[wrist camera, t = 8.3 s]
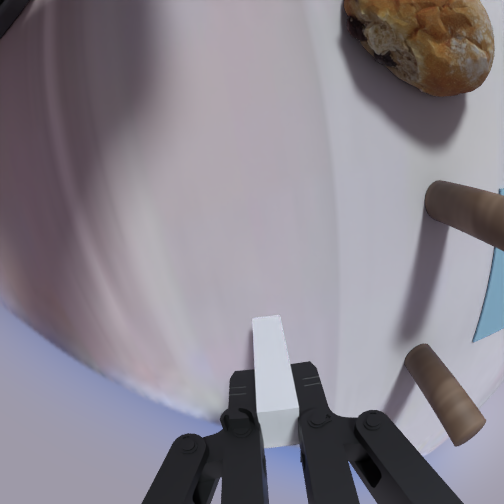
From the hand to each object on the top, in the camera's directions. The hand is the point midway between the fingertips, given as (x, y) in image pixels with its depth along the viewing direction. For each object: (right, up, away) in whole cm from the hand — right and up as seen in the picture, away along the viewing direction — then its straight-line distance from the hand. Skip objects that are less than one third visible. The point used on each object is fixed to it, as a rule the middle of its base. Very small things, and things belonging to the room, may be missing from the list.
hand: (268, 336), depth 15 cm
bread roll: (+9, +19, -4) cm, 21 cm away
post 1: (+11, +8, 0) cm, 14 cm away
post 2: (+13, -4, +4) cm, 14 cm away
